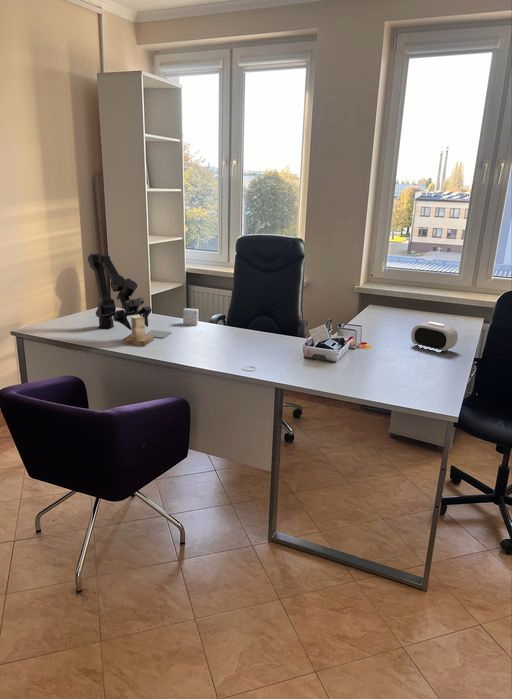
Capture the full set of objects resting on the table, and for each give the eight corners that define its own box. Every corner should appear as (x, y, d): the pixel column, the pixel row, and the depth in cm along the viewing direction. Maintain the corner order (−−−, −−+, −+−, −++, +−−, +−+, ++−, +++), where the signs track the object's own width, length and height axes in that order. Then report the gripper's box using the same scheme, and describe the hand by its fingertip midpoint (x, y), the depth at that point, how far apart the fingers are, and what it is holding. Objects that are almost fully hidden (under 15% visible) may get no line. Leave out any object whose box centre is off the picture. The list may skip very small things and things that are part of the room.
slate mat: (143, 336, 256) (143, 335, 256) (152, 331, 266) (152, 330, 266) (164, 338, 254) (164, 337, 254) (171, 333, 264) (171, 332, 264)
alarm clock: (408, 346, 261) (412, 321, 257) (417, 342, 268) (420, 318, 264) (447, 355, 248) (452, 329, 244) (455, 351, 255) (459, 326, 251)
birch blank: (131, 336, 246) (131, 316, 243) (139, 335, 249) (139, 315, 246) (136, 338, 243) (136, 318, 240) (144, 337, 246) (144, 317, 243)
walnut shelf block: (123, 344, 243) (122, 339, 242) (132, 337, 253) (132, 333, 252) (144, 346, 241) (144, 341, 240) (153, 340, 251) (153, 335, 250)
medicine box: (198, 323, 285) (198, 309, 282) (196, 325, 280) (196, 310, 278) (184, 323, 285) (184, 308, 283) (182, 324, 281) (182, 309, 278)
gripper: (114, 294, 236) (127, 321, 232) (149, 290, 249) (162, 316, 244) (107, 307, 244) (119, 334, 240) (141, 302, 256) (153, 328, 252)
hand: (139, 328), depth 244 cm, fingers open, 9 cm apart
